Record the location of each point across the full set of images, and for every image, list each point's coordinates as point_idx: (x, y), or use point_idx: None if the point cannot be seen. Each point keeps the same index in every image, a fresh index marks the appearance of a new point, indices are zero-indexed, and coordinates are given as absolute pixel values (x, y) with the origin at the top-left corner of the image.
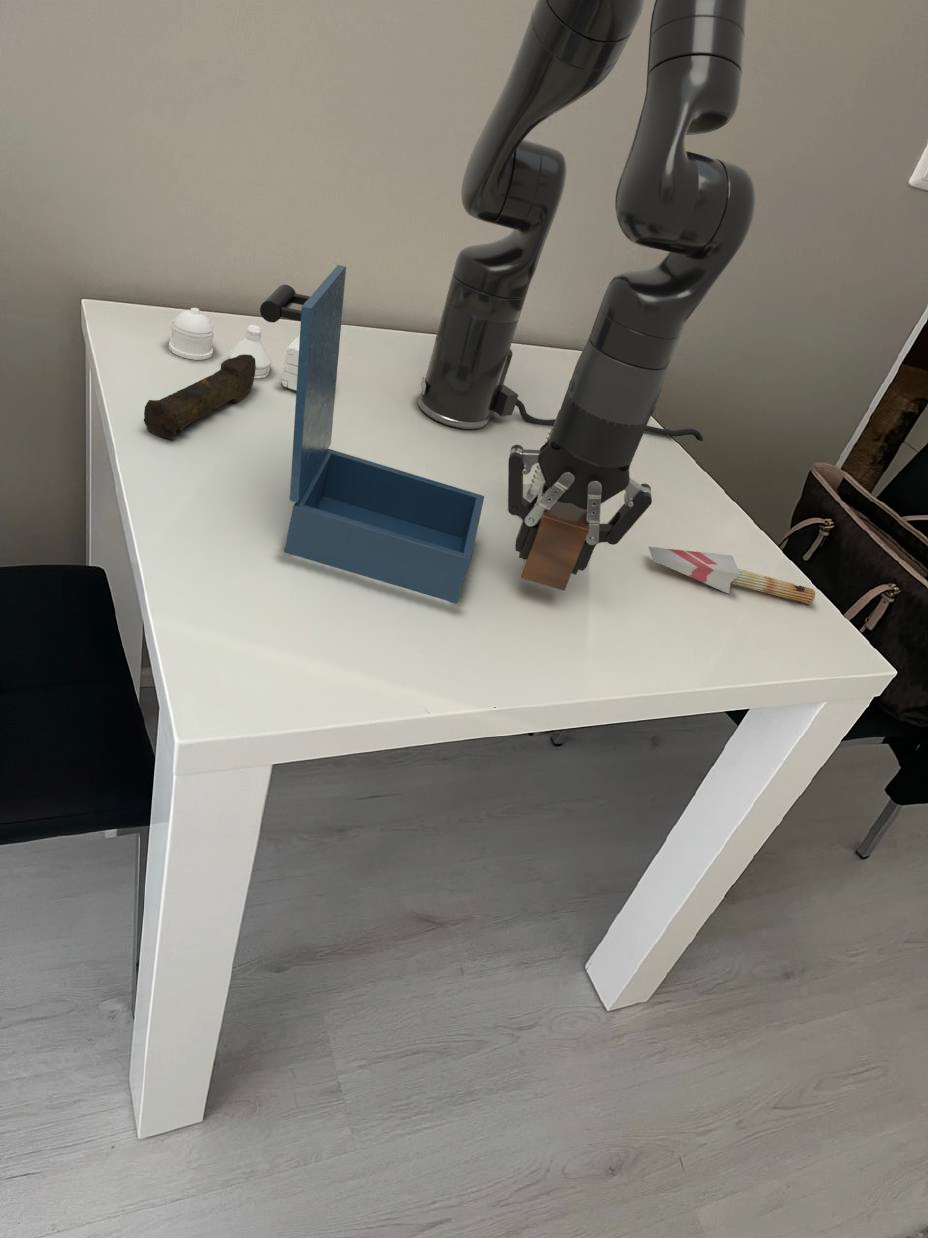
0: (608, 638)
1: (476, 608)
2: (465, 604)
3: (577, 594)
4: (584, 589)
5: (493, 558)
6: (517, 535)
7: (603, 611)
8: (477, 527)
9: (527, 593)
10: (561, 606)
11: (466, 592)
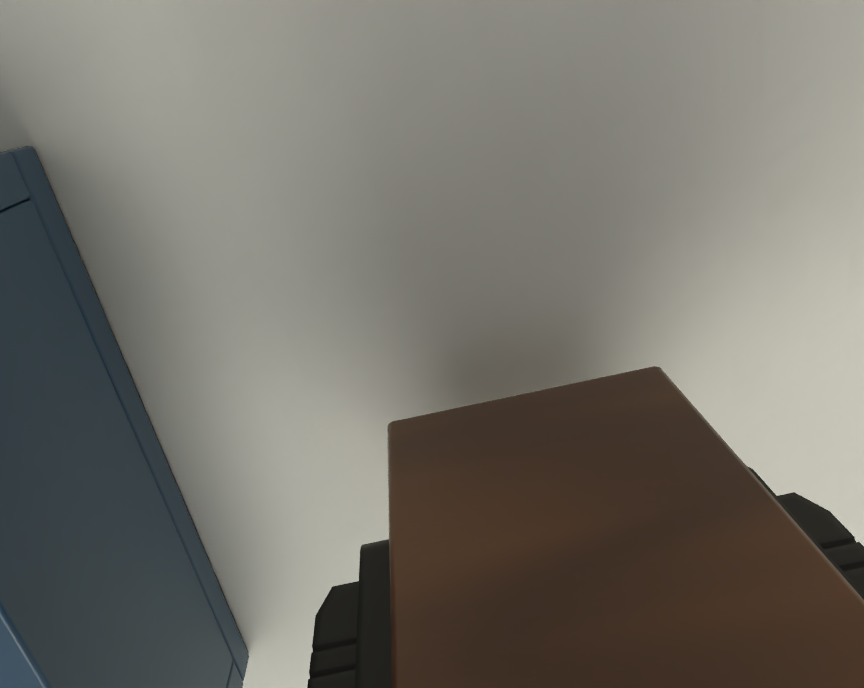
0: (860, 429)
1: (316, 596)
2: (270, 602)
3: (709, 197)
4: (745, 118)
5: (217, 194)
6: (314, 643)
7: (847, 249)
8: (44, 684)
9: (471, 368)
10: (640, 354)
11: (238, 537)
